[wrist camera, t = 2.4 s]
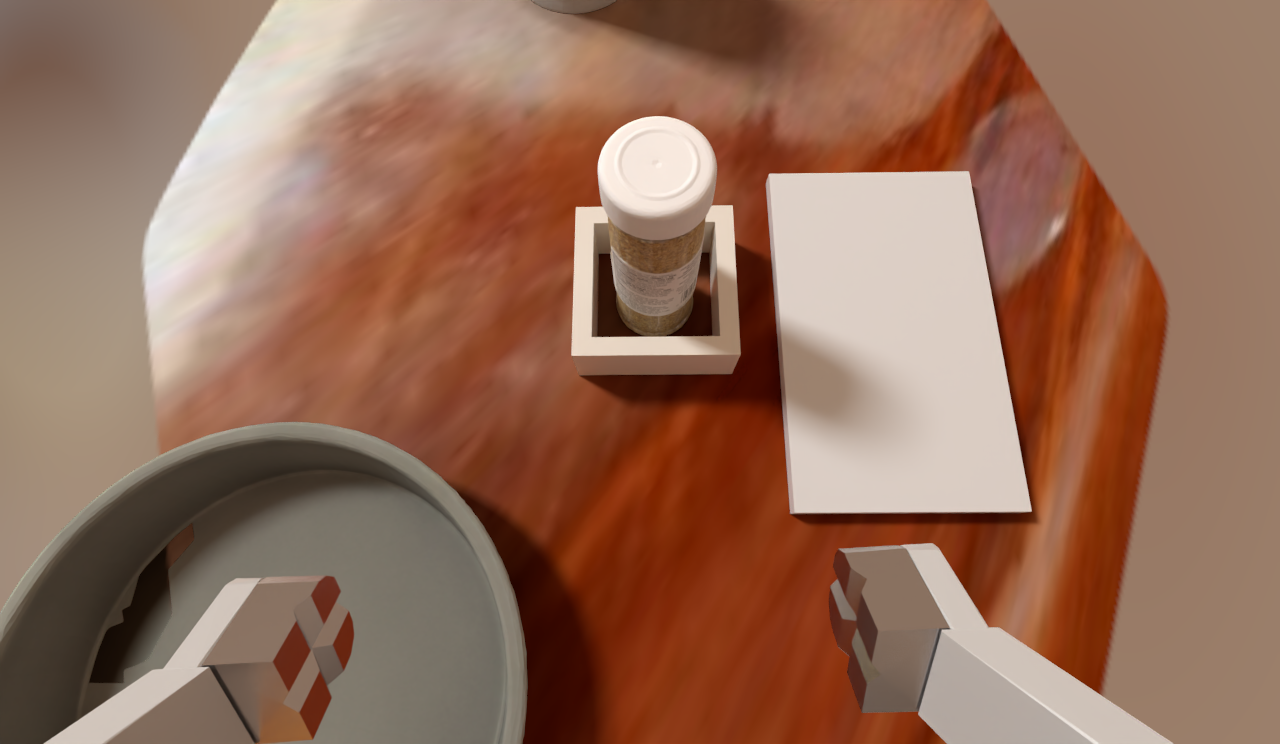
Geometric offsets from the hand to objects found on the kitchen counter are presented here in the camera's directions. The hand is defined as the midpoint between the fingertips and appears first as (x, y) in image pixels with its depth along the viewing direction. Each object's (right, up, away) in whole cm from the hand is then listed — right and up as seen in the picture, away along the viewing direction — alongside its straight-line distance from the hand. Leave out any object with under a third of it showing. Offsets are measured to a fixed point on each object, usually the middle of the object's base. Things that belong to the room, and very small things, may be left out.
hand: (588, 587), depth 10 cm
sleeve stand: (+2, +7, +26) cm, 27 cm away
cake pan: (-16, -12, +21) cm, 29 cm away
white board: (+15, +6, +25) cm, 29 cm away
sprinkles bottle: (+2, +7, +26) cm, 27 cm away
